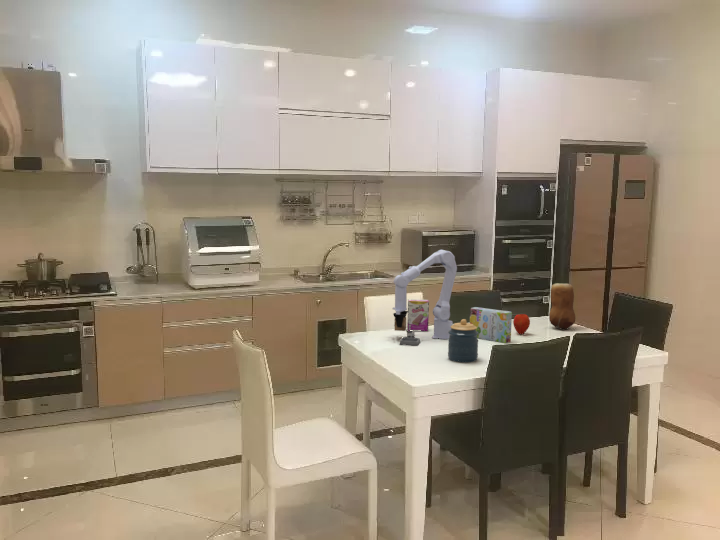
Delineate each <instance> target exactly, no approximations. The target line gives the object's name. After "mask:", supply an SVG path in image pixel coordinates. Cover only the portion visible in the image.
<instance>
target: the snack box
mask: <svg viewBox="0 0 720 540" xmlns="http://www.w3.org/2000/svg"><path fill="white" fill-rule="evenodd" d="M512 320H513V312H512V311H508V310H500V309H492V308H487V307H486V308H484V307H477V306H474V307H471V308H469V323H471V324H473V325H474V326H476V327H477V329H476V331H477V332H478V333H479V334H478V335H477V339H479V340H485V339H486V341H491V342H498V343H504V344H506V343H507V344H508V343H510V342H511V339H512V324H513V321H512Z"/></svg>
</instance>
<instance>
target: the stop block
mask: <svg viewBox="0 0 720 540" xmlns="http://www.w3.org/2000/svg"><path fill="white" fill-rule="evenodd" d="M394 331H399V332H400V331H401V332H405V331H407V317H404V318H403V323H402V328H399V327H397V324H396V319H395V318H394Z"/></svg>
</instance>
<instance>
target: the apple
mask: <svg viewBox="0 0 720 540" xmlns="http://www.w3.org/2000/svg"><path fill="white" fill-rule="evenodd" d="M512 324H513V327H514V329H515V331H516V332H517V335H524V334H525V333H526V332H527V330H528V329H529V327H530V325H531V319H530V317H529V316H528V315H527V314H525V313H524V314H523V313H521V314H520V313H519V314H516V315H515V316H514V318H513V321H512Z"/></svg>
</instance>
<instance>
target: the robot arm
mask: <svg viewBox="0 0 720 540" xmlns="http://www.w3.org/2000/svg"><path fill="white" fill-rule="evenodd" d="M434 264H441V265H442V266H443V267H444V269H445V273H444V277H443V280H442V281H443V282H442V286H441V290H440V294H439V297H438V300H437V302H436V304H435V307H433V309H432V314H433V316H434V319H433V335H432V337H431V338H432V339H438V338H439V339H441V340H448V339H449V336H450V334H449V333H448V332H449V331H450V330H451V326H452V325H453V324H454V322H453V320H449V319H450V317H451V312H450V309H451V305H450V304H451V303H450V300H451V295H452V292H453V287H454V284H455V281H456V280H455V278H456V274H457V272H458V266H457V263H456V256H455V255H454V254H453V252H451V251H449V250H444V249H439V250H437V251H435V252H433V253H432V254H431V255H430V256H428V257H427V258H426V259H425V260H423V261H421V262H420V263H419V264H418V265H412V266H411V265H410V266H409V267H408V269H406V270H405V271H402V272H401V273H400V274H398V275H396V276H395V277H394V279H393V283H394V285H395V288H394V289H395V290H394V307H392V310H394V311H395V312H393V313H392V315H393V317H394V320H395V319H396V324H397V327H399V328H402V323H403V318H404V317H406V316H408V299H407V295H408V294H407V292H408V291H407V286H408V285H409V283H411V282H412V281H414V280H415V279H416V278H418V277H420V275H421V272H422V271H424V270H426V269H427V268H429V267H430V266H432V265H434ZM406 318H407V317H406ZM439 339H438V340H439Z"/></svg>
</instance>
